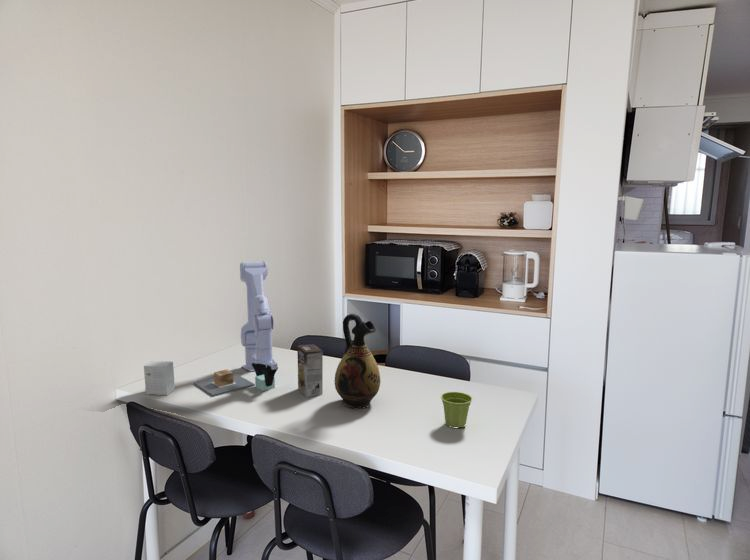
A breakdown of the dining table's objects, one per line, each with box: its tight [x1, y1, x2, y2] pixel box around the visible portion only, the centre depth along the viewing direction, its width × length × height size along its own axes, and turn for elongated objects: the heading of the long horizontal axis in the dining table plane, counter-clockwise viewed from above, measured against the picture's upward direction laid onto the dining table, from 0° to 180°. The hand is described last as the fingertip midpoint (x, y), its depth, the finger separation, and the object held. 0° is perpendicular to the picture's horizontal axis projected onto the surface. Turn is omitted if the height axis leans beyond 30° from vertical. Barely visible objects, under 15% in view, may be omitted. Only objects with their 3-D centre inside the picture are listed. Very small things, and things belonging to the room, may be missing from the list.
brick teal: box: [254, 375, 276, 392], centre depth 180 cm, size 5×5×4 cm
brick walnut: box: [213, 369, 234, 387], centre depth 182 cm, size 5×5×4 cm
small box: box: [143, 360, 176, 396], centre depth 174 cm, size 8×6×10 cm
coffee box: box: [296, 343, 324, 398], centre depth 175 cm, size 9×6×16 cm
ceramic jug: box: [334, 313, 381, 409], centre depth 165 cm, size 17×15×30 cm
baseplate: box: [193, 372, 256, 397], centre depth 182 cm, size 16×16×1 cm
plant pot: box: [440, 391, 473, 428], centre depth 150 cm, size 9×9×9 cm
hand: (265, 383), depth 180 cm, fingers closed on brick teal, 5 cm apart
